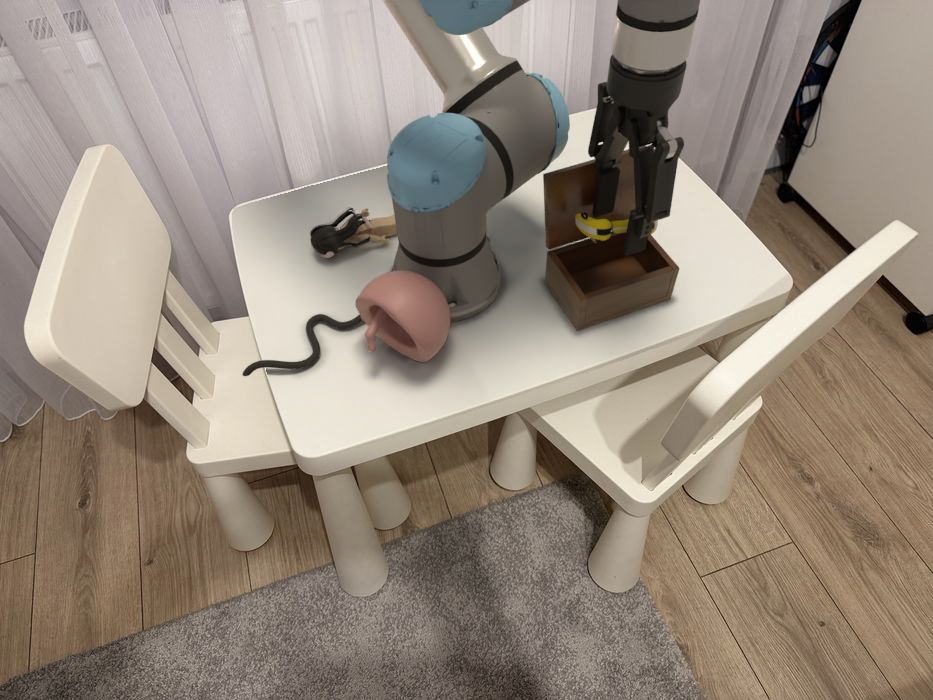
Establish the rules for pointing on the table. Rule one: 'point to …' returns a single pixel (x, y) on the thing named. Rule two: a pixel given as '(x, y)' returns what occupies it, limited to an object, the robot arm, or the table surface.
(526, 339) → the table surface
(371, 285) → the mortar and pestle
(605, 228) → the yellow curved piece
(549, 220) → the lid
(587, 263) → the chest
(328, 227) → the toy figure
